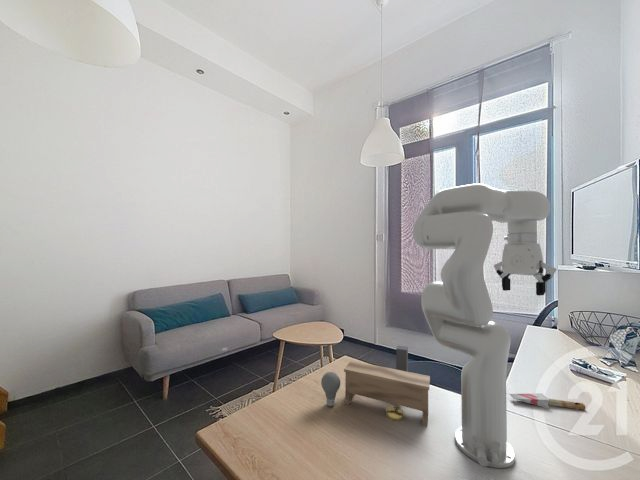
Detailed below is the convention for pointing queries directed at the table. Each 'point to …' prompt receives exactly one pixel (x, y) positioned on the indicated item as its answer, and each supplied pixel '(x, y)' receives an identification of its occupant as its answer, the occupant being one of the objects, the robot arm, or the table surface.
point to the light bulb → (330, 386)
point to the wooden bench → (387, 386)
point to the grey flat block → (402, 358)
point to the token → (394, 413)
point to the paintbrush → (546, 401)
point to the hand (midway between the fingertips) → (522, 292)
